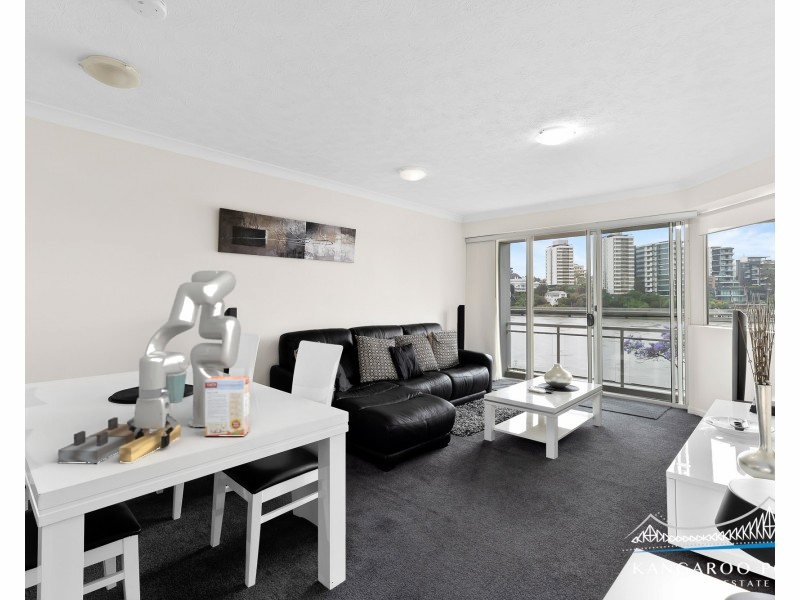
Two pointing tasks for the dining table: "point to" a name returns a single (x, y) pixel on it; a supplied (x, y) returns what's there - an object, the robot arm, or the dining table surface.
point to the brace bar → (145, 445)
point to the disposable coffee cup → (175, 386)
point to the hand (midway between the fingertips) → (152, 446)
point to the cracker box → (226, 406)
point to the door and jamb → (98, 443)
